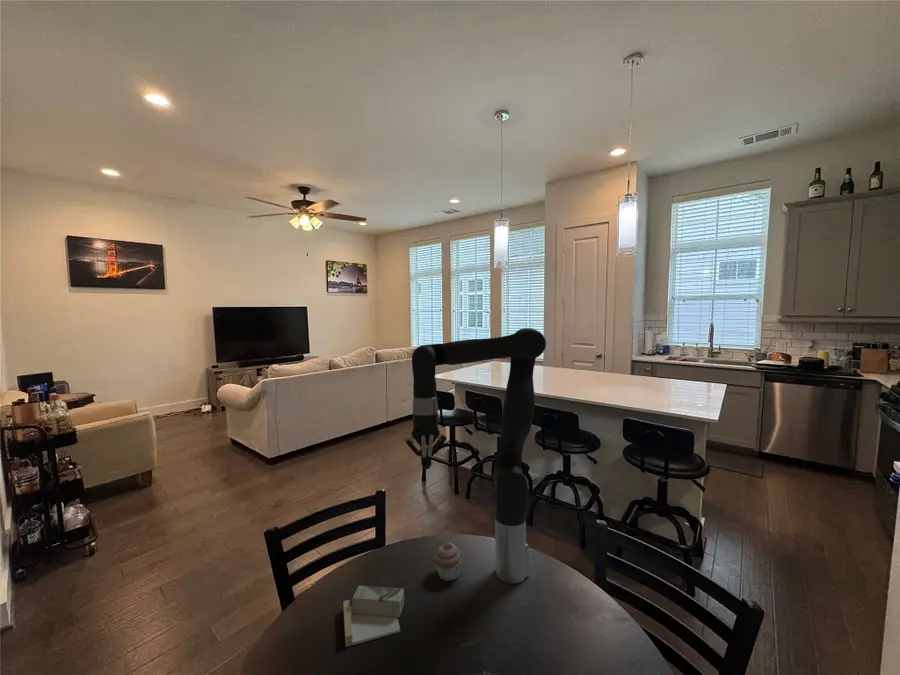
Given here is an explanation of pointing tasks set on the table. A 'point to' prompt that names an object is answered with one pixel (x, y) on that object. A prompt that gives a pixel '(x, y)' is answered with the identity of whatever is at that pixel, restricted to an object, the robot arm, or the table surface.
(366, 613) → the box
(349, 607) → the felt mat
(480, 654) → the table surface
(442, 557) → the cupcake
